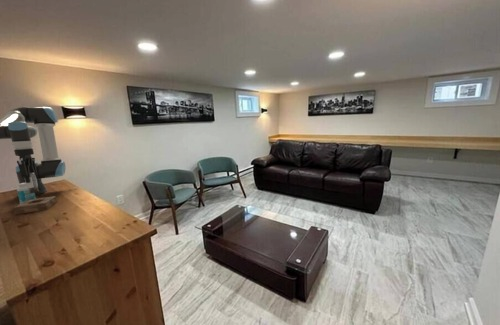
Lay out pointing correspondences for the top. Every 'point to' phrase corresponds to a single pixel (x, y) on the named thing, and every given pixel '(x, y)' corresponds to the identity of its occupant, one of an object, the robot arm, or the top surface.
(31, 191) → the peg
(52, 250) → the top surface
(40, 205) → the socket block
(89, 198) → the top surface
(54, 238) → the top surface
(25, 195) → the pill bottle
